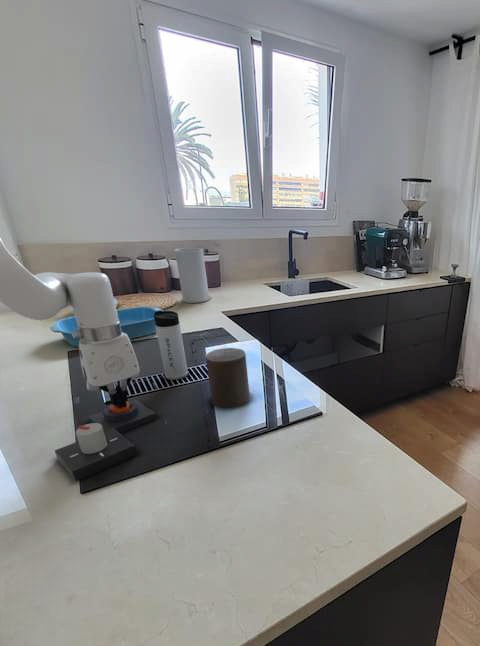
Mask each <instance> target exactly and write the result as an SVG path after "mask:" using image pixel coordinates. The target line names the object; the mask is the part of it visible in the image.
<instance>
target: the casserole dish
mask: <svg viewBox="0 0 480 646" xmlns="http://www.w3.org/2000/svg"><path fill="white" fill-rule="evenodd" d="M116 310H117V314H118V318H119V322H120V326H121V330H122V332H123V333H126V334H127V336H128V338H129V340H131V339H135V338H140V337H144V336H149V335H152V334H155V333H157V331H156V326H155V320H154V313H155V311H159V310H162V311H164V310H163V309H162V308H159V307H152V306H133V307H126V308H120V309H119V308H118V309H116ZM77 326H78V324H77V321H76V317H75V315H74V316H69V317H68V316H67V317H65V318H61V319H58V320H57V321H56V322H55V323H53V324H52V325H50V328H49V329H50V330H51V332H53V333H58V334H59V333H61V335H62V337H64V339H65V340H66V341H67V342H68V343H69V344H70V345H72V346H74V347H77V348H79V340H81V338H73V336H72V332H75V331H77V329H78V328H77Z"/></svg>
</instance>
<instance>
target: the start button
mask: <svg viewBox="0 0 480 646" xmlns="http://www.w3.org/2000/svg"><path fill="white" fill-rule="evenodd" d="M126 404H127V406H126V407H122V408H120V409H119V408H118V407H117V406H115V405H111V404H110V405H111V406H110V410H111V413H122V412H125V411H127V410H129V409H130V404H129V403H128V402H126Z"/></svg>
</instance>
